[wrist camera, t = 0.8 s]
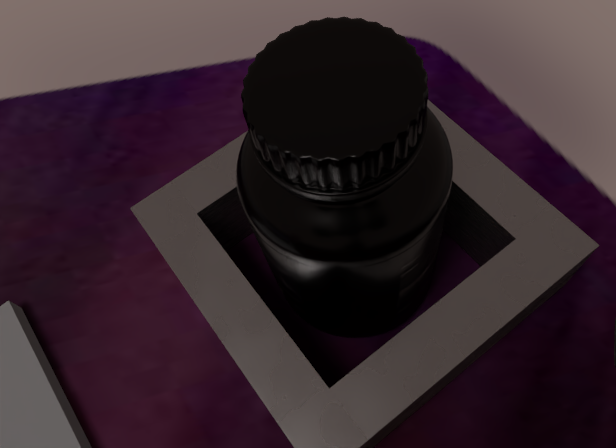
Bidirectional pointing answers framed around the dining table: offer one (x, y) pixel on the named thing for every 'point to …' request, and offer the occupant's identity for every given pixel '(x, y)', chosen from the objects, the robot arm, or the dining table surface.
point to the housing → (406, 344)
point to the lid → (31, 391)
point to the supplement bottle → (344, 173)
